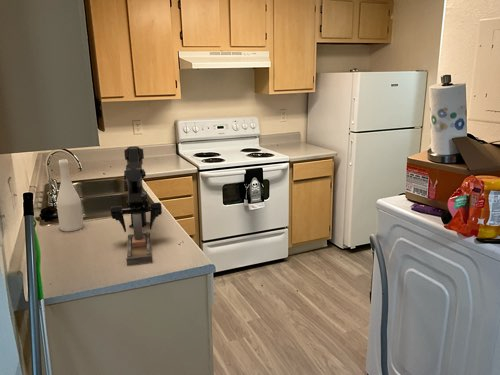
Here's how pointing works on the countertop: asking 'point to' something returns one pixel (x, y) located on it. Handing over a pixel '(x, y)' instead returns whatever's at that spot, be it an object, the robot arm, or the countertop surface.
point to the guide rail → (139, 251)
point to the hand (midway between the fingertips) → (138, 230)
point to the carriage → (138, 231)
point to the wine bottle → (68, 202)
